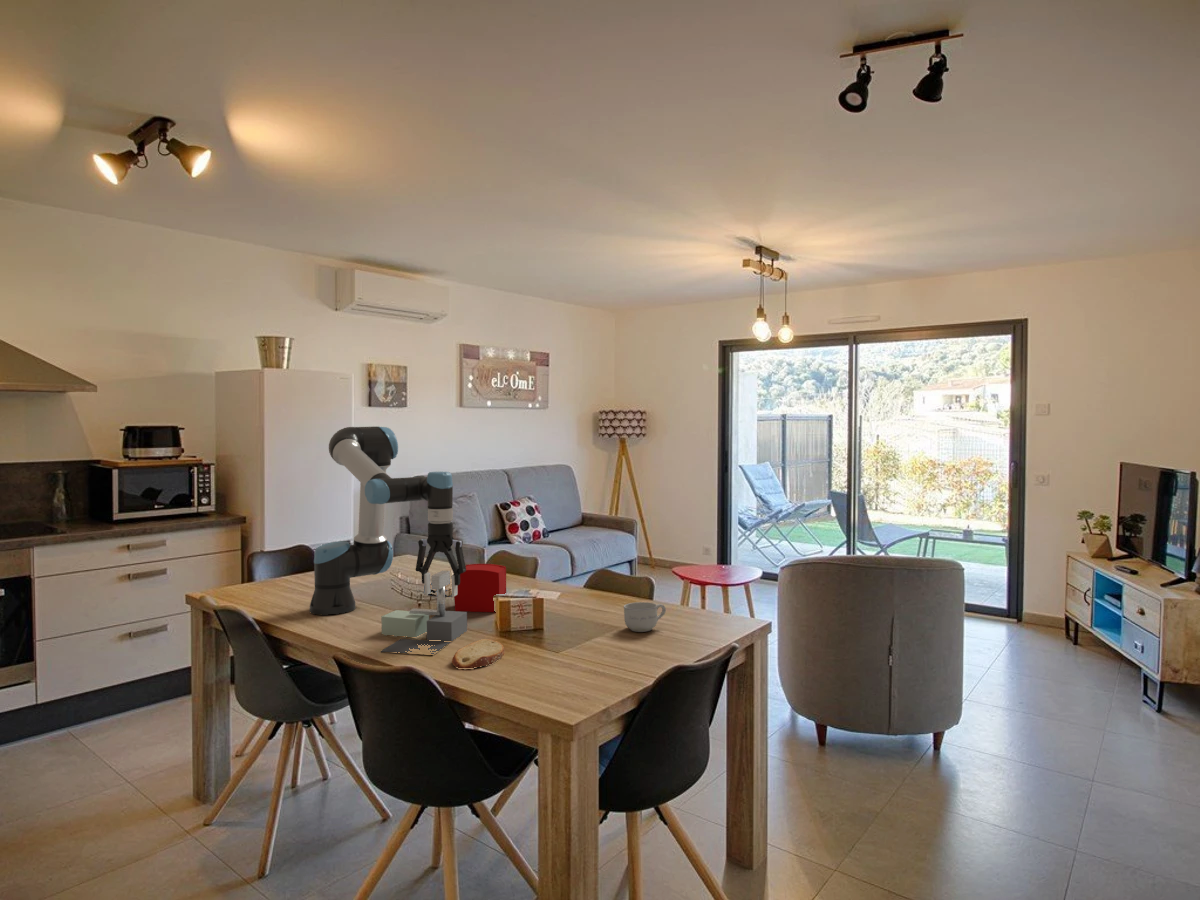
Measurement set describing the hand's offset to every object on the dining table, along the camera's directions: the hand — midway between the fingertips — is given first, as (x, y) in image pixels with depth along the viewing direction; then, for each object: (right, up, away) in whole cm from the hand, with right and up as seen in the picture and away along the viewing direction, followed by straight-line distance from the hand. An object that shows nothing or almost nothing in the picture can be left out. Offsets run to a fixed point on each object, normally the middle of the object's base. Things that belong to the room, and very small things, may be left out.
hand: (441, 594), depth 220 cm
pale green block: (-12, -13, +3) cm, 18 cm away
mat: (-5, -13, -12) cm, 18 cm away
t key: (-4, -6, +1) cm, 8 cm away
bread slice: (+15, -14, -20) cm, 29 cm away
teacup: (+64, -13, +7) cm, 65 cm away
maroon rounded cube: (+7, -12, +33) cm, 35 cm away
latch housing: (+2, -13, 0) cm, 13 cm away
